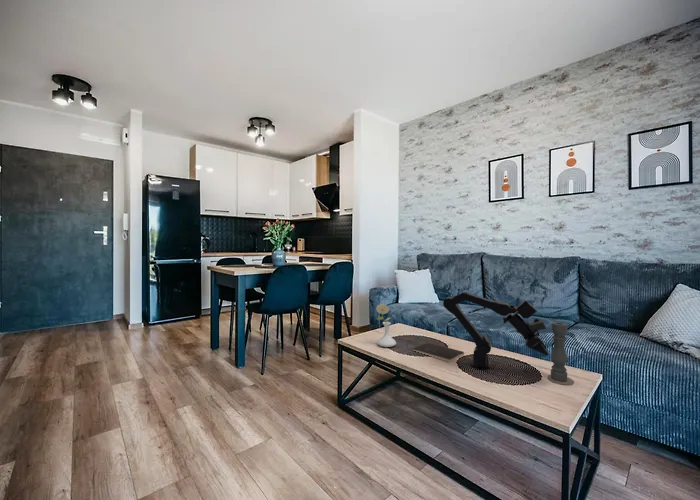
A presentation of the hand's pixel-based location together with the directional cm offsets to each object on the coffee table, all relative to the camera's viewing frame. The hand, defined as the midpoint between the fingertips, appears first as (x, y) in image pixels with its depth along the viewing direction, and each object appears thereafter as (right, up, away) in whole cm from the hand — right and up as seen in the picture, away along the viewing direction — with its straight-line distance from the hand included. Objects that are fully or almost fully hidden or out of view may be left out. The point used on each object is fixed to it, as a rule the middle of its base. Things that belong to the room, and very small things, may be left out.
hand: (546, 351), depth 142 cm
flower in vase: (-68, -12, +47) cm, 84 cm away
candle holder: (+4, -12, -2) cm, 13 cm away
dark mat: (+5, -12, -2) cm, 13 cm away
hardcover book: (-40, -12, +33) cm, 54 cm away
